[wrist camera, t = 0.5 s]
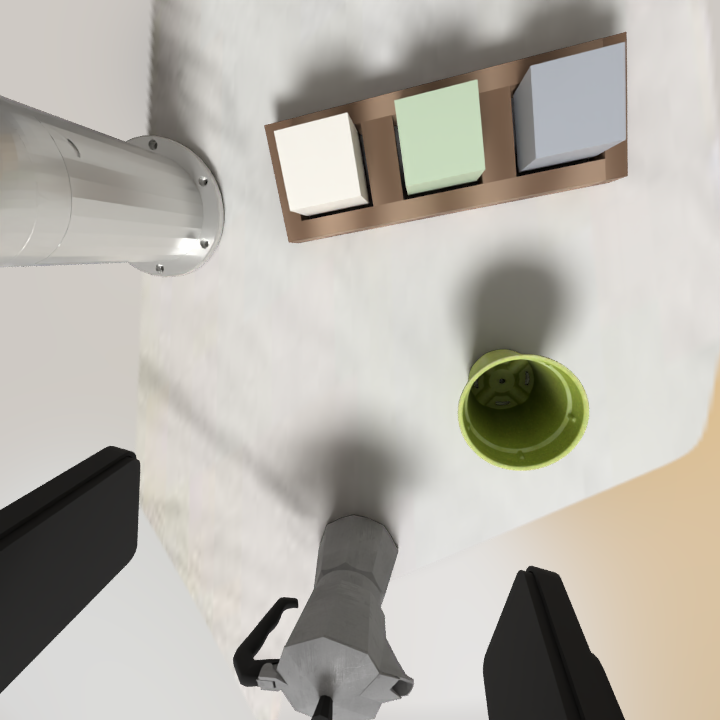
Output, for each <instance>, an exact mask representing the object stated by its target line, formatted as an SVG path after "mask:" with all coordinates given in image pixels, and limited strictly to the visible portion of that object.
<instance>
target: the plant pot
mask: <svg viewBox="0 0 720 720" xmlns="http://www.w3.org/2000/svg"><path fill="white" fill-rule="evenodd" d="M525 372H528V374H529V378H530V380H529V384H528V385H525V380H526V376H525V375H526V373H525ZM477 378H478V386H479V387H478V388H475V386H474V382H475V381H476V379H477ZM500 379H504V380H505V382H504V383H500V382H499V381H500ZM507 401H510V403H509V404H506V405H497V404H496V402H507ZM588 420H589V403H588V398H587V395H586V392H585V390H584V388H583V386H582V384H581V382H580V381H579V379H578V378H577V377H576V376H575V375H574V374H573V373H572V372H571V371H570V370H569V369H568V368H566V367H565V366H564V365H562V364H560V363H558V362H557V361H555V360H552V359H550V358H547V357H544V356H539V355H533V354H520V353H518V352H515V351H512V350H507V349H500V350H494V351H491V352H488V353H486V354H484V355H483V356H482V357H480V358H479V359H478V360H477V361H476V362H475V364H474V365H473V366H472V368H471V370H470V374H469V380H468V383H467V384H466V386H465V387H464V389H463V392H462V394H461V397H460V400H459V405H458V421H459V426H460V430H461V433H462V435H463V437H464V439H465V441H466V442H467V444H468V445H469V447H470V448H471V449H472V450H473V451H474V452H475V453H476V454H477V455H478V456H479V457H480V458H482V459H483V460H485V461H486V462H488V463H490V464H492V465H494V466H497V467H500V468H504V469H508V470H515V471H526V470H535V469H539V468H542V467H545V466H548V465H551V464H553V463H555V462H557V461H559V460H560V459H562V458H563V457H565V456H566V455H567V454H568V453H570V452H571V451H572V450H573V449H574V448H575V446H576V445H577V444H578V443H579V441H580V440H581V438H582V436H583V435H584V432H585V430H586V427H587V424H588Z"/></svg>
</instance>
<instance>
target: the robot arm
mask: <svg viewBox="0 0 720 720" xmlns="http://www.w3.org/2000/svg"><path fill="white" fill-rule="evenodd" d="M206 181H208V182H207V185H206ZM223 223H224V209H223V203H222V197H221V193H220V191H219V188H218V185H217V182H216V180H215V178H214V177H213V175H212V173H211V171H210V169H209V168H208V167H207V166H206V164H205V163H204V162H203V161H202V159H201V158H200V157H198V156H197V155H196V154H195V153H194V152H193V151H192V150H190V149H189V148H187V147H185V146H184V145H182V144H180V143H178V142H176V141H173V140H171V139H169V138H164V137H160V136H140V137H136V138H132V139H130V140H128V141H126V142H125V141H122V140H119V139H117V138H114V137H111V136H108V135H105V134H103V133H100V132H98V131H95V130H92V129H89V128H87V127H84V126H81V125H78V124H76V123H73V122H71V121H68V120H65V119H62V118H60V117H57V116H54V115H52V114H49V113H46V112H44V111H41V110H38V109H35V108H33V107H30V106H27V105H25V104H22V103H19V102H16V101H14V100H11V99H8V98H5V97H3V96H1V95H0V267H16V266H17V267H18V266H23V267H24V266H50V265H76V264H100V263H125V262H126V263H127V262H128V263H129V264H130V265H132V266H133V267H135V268H137V269H139V270H140V271H142V272H145V273H148V274H150V275H154V276H160V277H175V276H181V275H186V274H188V273H191V272H193V271H195V270H197V269H198V268H200V267H201V266H202V265H204V264H205V263H206V262H207V261H208V259H209V258H210V257H211V256H212V254H213V253H214V251H215V250H216V248H217V246H218V243H219V241H220V238H221V235H222V229H223ZM207 242H208V243H209V246H208V245H207ZM139 486H140V462H139V460H137V459H136V455H135V453H134V452H131V451H128V450H125V449H121V448H118V447H114V446H109V447H106V448H104V449H102V450H101V451H99V452H97V453H96V454H94V455H92V456H91V457H89V458H87V459H86V460H84V461H82V462H81V463H79V464H77V465H75V466H74V467H72V468H70V469H69V470H67V471H65V472H64V473H62V474H60V475H59V476H57V477H55V478H53V479H52V480H50V481H48V482H47V483H45V484H44V485H42V486H40V487H38V488H37V489H35V490H33V491H32V492H30V493H28V494H27V495H25V496H23V497H22V498H20V499H18V500H16V501H15V502H13V503H11V504H10V505H8V506H6V507H5V508H3V509H1V510H0V693H1V692H2V691H3V690H4V689H5V688H6V687H7V686H8V685H9V684H10V683H11V682H12V681H13V680H14V679H15V678H16V677H17V676H18V675H19V674H20V673H21V672H22V671H23V670H24V669H25V668H26V667H27V666H28V665H29V664H30V663H31V662H32V661H33V659H35V658H36V656H38V655H39V653H40V652H41V651H42V650H43V649H44V648H45V647H46V646H47V645H48V644H49V643H50V642H51V641H52V640H53V639H54V638H55V637H56V636H57V635H58V634H59V633H60V632H61V631H62V630H63V629H64V628H65V627H66V626H67V625H68V624H69V623H70V622H71V621H72V620H73V619H74V618H75V617H76V616H77V615H78V614H79V613H80V612H81V611H82V610H83V609H84V608H85V607H86V605H88V603H89V602H90V601H91V600H92V599H93V598H94V597H95V596H96V595H97V594H98V593H99V592H100V591H101V590H102V589H103V588H104V587H105V586H106V585H107V584H108V583H109V582H110V581H111V580H112V579H113V578H114V577H115V576H116V575H117V574H118V573H119V572H120V571H121V570H122V569H123V568H124V567H125V566H126V565H127V564H128V563H129V561H130V560H131V559H132V557H133V556H134V554H135V552H136V548H137V537H138V535H137V534H138V510H139ZM483 677H484V685H485V692H486V700H487V708H488V716H489V720H625V719H624V717H623V714H622V712H621V709H620V707H619V704H618V702H617V700H616V697H615V695H614V692H613V690H612V688H611V685H610V683H609V681H608V678H607V676H606V673H605V671H604V669H603V667H602V665H601V663H600V661H599V660H598V658H597V657H596V656H595V655H594V654H592V653H591V651H590V649H589V646H588V644H587V642H586V639H585V636H584V634H583V632H582V629H581V627H580V624H579V622H578V619H577V617H576V614H575V612H574V609H573V607H572V604H571V602H570V600H569V597H568V595H567V592H566V590H565V587H564V585H563V582H562V580H561V578H560V576H559V575H558V574H557V573H555V572H551V571H548V570H544V569H540V568H537V567H534V566H529V567H528V568H527V570H526V571H523V570H520V571H519V572H518V573H517V575H516V578H515V580H514V583H513V586H512V588H511V591H510V593H509V596H508V598H507V601H506V603H505V606H504V608H503V611H502V613H501V616H500V619H499V621H498V624H497V626H496V629H495V631H494V634H493V636H492V639H491V642H490V644H489V647H488V649H487V652H486V654H485V658H484V664H483Z"/></svg>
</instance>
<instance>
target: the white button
mask: <svg viewBox="0 0 720 720" xmlns="http://www.w3.org/2000/svg"><path fill="white" fill-rule="evenodd" d="M274 135H275V139H276V144H277V149H278V154H279V159H280V164H281V169H282V174H283V178H284V183H285V188H286V193H287V198H288V203H289V208H290V211H293V212H296V213H299V214H302V215H305V216H312V215H317V214H322V213H327V212H332V211H336V210H341V209H346V208H351V207H356V206H361V205H365V204H369V197H368V191H367V185H366V178H365V172H364V166H363V159H362V153H361V147H360V140H359V134H358V131H357V130H356V128H355V126H354V124H353V122H352V120H351V118H350V116H349V114H348V113H343V114H339V115H335V116H331V117H328V118H324V119H320V120H316V121H312V122H308V123H304V124H300V125H296V126H292V127H288V128H284V129H280V130H276V131H274Z"/></svg>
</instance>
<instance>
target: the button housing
mask: <svg viewBox="0 0 720 720" xmlns="http://www.w3.org/2000/svg"><path fill="white" fill-rule="evenodd" d="M622 42H625V80H626V140H624V141H622V142H621V143H619V144H617V145H615V146H613V147H611V148H610V149H608V150H606V151H604V152H602V153H600V154H599V155H597V156H595V157H592V158H589V162H587V163H582V164H577V165H572V166H567V167H563V168H558V169H553V170H548V171H543V172H538V173H533V174H528V175H524V176H519V177H516V163H515V149H514V135H513V121H512V107H511V98H513V95H514V93H515V91H516V90H517V88H518V86H519V84H520V83H521V81H522V79H523V78H524V76H525V74H526V73H527V71H528V69H529V68H530V66H532V65H536V64H540V63H544V62H548V61H552V60H555V59H559V58H563V57H567V56H571V55H575V54H579V53H583V52H587V51H591V50H595V49H599V48H603V47H607V46H611V45H614V44H618V43H622ZM473 80H478V92H479V103H480V114H481V126H482V137H483V148H484V159H485V170H484V172H483V173H482V174H481V176H480V177H479V178H478V179H477V185H475V186H470V187H465V188H460V189H455V190H451V191H446V192H441V193H436V194H431V195H426V196H421V197H417V198H412V199H407V200H404V194H403V187H402V180H401V172H400V165H399V158H398V151H397V143H396V136H395V129H394V127H395V126H398V124H397V117H396V110H395V102H394V100H398V99H402V98H406V97H410V96H414V95H418V94H422V93H426V92H430V91H434V90H438V89H441V88H445V87H449V86H453V85H457V84H461V83H465V82H469V81H473ZM343 113H348V114H349V116H350V118H351V120H352V122H353V124H354V126H355V128H356V130H357V131H358V134H359V135H361V134H362V136H363V142H364V149H365V155H366V162H367V168H368V175H369V181H370V187H371V194H372V200H373V207H368V208H363V209H358V210H353V211H348V212H344V213H339V214H334V215H329V216H324V217H319V218H314V219H310V217H309V216H305V215H302V214H299V213H296V212H293V211H290V208H289V203H288V198H287V193H286V188H285V183H284V178H283V174H282V169H281V164H280V159H279V154H278V149H277V144H276V139H275V135H274V131H276V130H280V129H284V128H288V127H292V126H296V125H300V124H304V123H308V122H312V121H316V120H320V119H324V118H328V117H331V116H335V115H339V114H343ZM264 126H265V131H266V136H267V140H268V145H269V150H270V155H271V160H272V164H273V169H274V174H275V179H276V183H277V188H278V193H279V198H280V203H281V207H282V212H283V217H284V222H285V226H286V231H287V236H288V241H289V242H292V243H302V242H307V241H312V240H317V239H322V238H327V237H332V236H337V235H343V234H348V233H353V232H358V231H363V230H368V229H373V228H379V227H384V226H389V225H394V224H399V223H404V222H409V221H415V220H420V219H425V218H430V217H435V216H440V215H445V214H450V213H456V212H461V211H466V210H471V209H476V208H481V207H486V206H492V205H497V204H502V203H507V202H512V201H517V200H522V199H527V198H533V197H538V196H543V195H548V194H553V193H558V192H563V191H569V190H574V189H579V188H584V187H589V186H594V185H599V184H605V183H609V182H612V181H615V180H618V179H620V178H623V177H626V176H628V163H627V38H626V32H624V33H620V34H616V35H612V36H609V37H605V38H601V39H597V40H593V41H589V42H585V43H582V44H578V45H574V46H570V47H566V48H562V49H558V50H554V51H551V52H547V53H543V54H539V55H535V56H531V57H527V58H524V59H520V60H516V61H512V62H508V63H504V64H500V65H496V66H493V67H489V68H485V69H481V70H477V71H473V72H469V73H466V74H462V75H458V76H454V77H450V78H446V79H442V80H438V81H435V82H431V83H427V84H423V85H419V86H415V87H411V88H407V89H404V90H400V91H396V92H392V93H388V94H384V95H380V96H377V97H373V98H369V99H365V100H361V101H357V102H353V103H349V104H346V105H342V106H338V107H334V108H330V109H326V110H322V111H319V112H315V113H311V114H307V115H303V116H299V117H295V118H291V119H288V120H284V121H280V122H276V123H272V124H268V125H264Z"/></svg>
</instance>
